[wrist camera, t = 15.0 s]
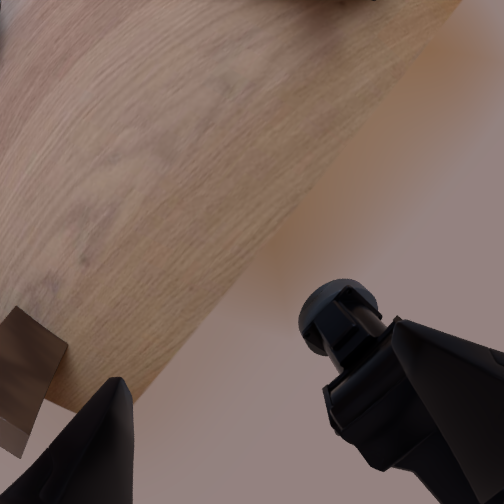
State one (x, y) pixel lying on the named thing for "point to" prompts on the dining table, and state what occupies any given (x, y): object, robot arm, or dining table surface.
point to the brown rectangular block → (24, 376)
